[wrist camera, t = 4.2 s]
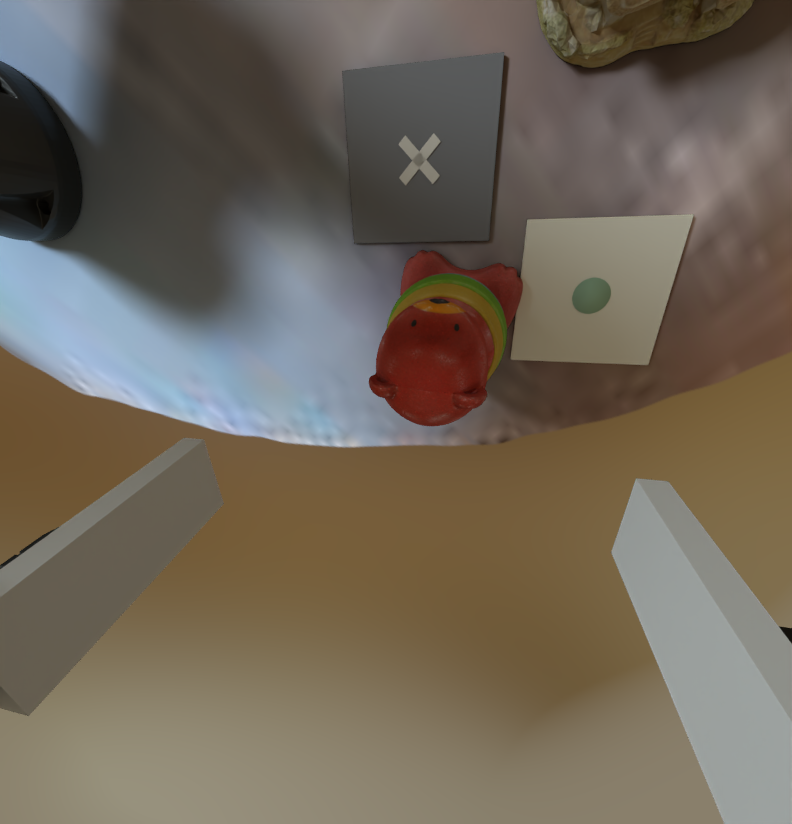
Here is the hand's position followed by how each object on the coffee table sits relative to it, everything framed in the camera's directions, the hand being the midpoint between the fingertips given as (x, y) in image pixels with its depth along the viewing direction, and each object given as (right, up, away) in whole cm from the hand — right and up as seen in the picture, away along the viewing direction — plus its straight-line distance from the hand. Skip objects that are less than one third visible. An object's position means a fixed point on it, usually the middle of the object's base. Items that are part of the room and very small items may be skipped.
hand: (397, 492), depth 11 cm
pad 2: (+17, +13, +20) cm, 29 cm away
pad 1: (+2, +23, +18) cm, 30 cm away
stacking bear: (+6, +12, +23) cm, 27 cm away
